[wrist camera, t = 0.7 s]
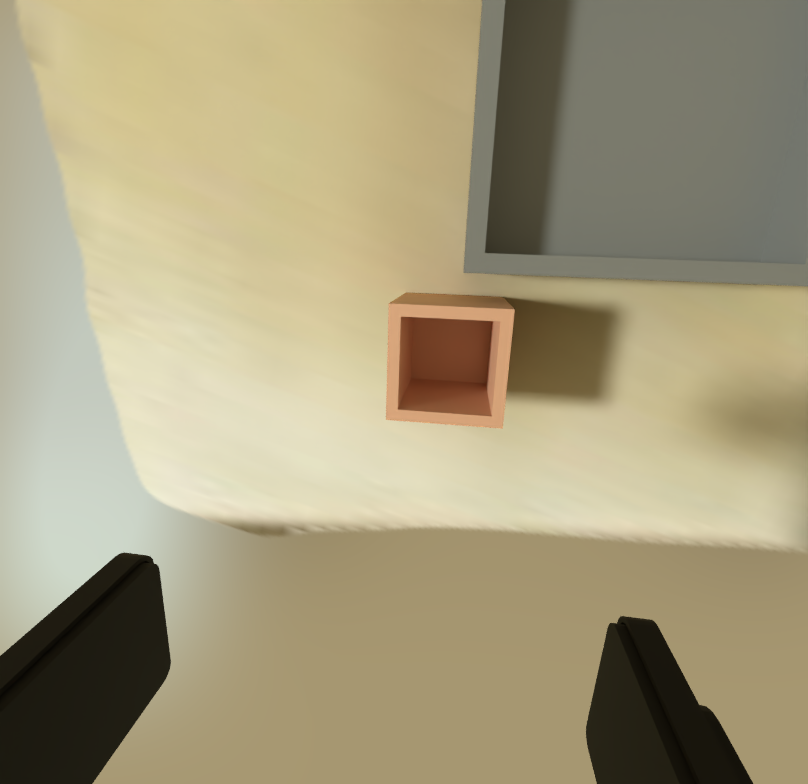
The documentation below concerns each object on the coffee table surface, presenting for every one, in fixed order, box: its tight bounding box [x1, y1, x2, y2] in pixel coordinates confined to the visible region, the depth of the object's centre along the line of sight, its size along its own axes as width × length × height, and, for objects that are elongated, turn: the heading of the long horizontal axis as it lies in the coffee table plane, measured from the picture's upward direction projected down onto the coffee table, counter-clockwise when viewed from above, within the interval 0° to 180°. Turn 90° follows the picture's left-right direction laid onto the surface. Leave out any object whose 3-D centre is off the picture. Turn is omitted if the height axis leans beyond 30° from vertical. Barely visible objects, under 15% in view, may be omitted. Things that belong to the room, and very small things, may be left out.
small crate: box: [386, 293, 515, 428], centre depth 26 cm, size 6×6×7 cm
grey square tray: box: [464, 0, 808, 286], centre depth 23 cm, size 17×17×4 cm
